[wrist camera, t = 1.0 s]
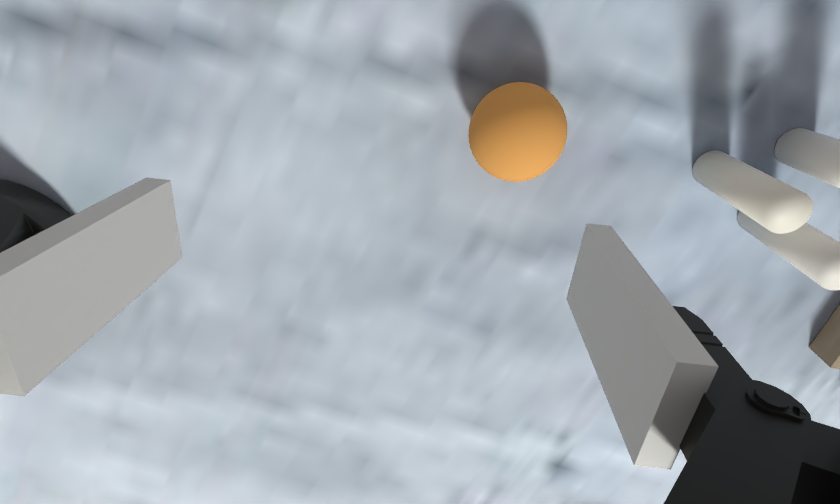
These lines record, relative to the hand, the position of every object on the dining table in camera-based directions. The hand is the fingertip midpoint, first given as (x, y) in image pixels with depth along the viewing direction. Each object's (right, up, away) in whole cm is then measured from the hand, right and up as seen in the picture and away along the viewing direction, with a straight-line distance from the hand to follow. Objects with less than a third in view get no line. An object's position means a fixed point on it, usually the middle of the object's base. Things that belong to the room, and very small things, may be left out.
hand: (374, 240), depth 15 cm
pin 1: (+26, +7, +16) cm, 32 cm away
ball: (+7, +7, +14) cm, 18 cm away
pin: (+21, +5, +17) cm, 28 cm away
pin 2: (+25, +2, +18) cm, 31 cm away
